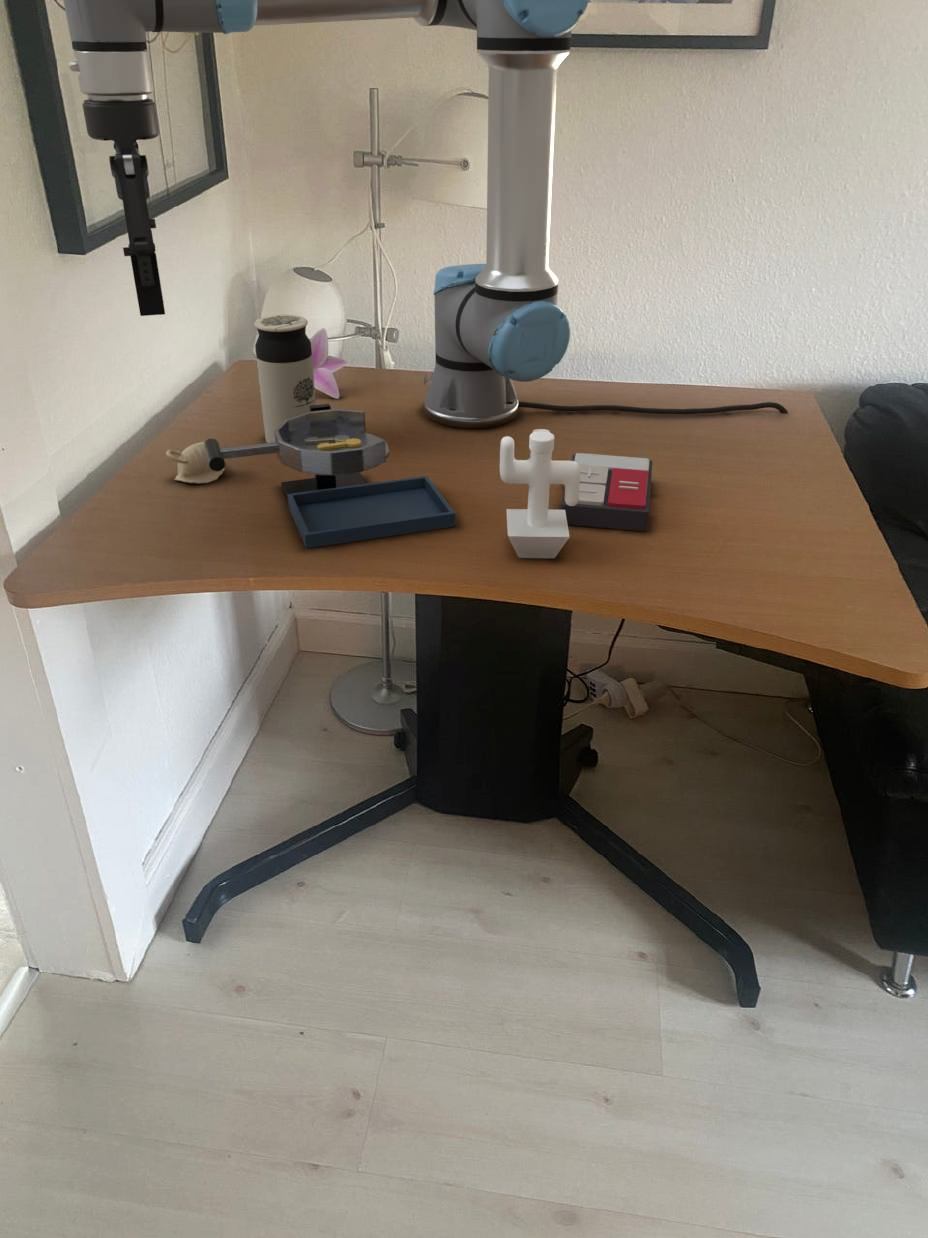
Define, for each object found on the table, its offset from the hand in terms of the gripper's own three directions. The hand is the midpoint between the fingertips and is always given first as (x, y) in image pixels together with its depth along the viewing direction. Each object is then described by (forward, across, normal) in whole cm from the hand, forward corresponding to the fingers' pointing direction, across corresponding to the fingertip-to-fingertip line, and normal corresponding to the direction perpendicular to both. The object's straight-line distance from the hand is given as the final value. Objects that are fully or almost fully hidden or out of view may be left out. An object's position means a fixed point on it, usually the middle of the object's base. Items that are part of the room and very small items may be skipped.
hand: (150, 299), depth 114 cm
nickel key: (+16, +9, +18) cm, 26 cm away
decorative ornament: (+26, -6, +2) cm, 27 cm away
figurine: (+26, +27, +40) cm, 55 cm away
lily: (+26, -37, +24) cm, 51 cm away
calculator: (+26, +17, +54) cm, 63 cm away
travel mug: (+26, -17, +17) cm, 36 cm away
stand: (+26, +3, +19) cm, 32 cm away
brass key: (+16, +11, +19) cm, 28 cm away
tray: (+26, +12, +23) cm, 37 cm away
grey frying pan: (+17, +12, +15) cm, 25 cm away
